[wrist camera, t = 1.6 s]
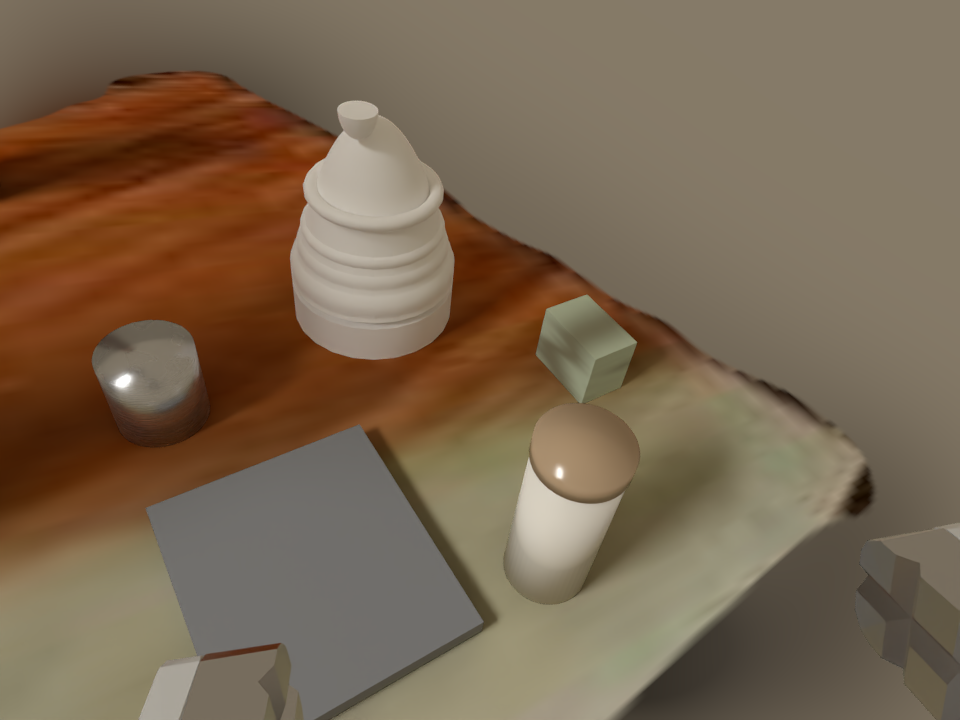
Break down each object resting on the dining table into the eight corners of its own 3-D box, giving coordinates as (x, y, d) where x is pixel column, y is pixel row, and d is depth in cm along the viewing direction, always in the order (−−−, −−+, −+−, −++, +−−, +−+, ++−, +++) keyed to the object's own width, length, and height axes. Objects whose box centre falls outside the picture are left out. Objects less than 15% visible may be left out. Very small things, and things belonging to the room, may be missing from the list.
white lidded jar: (485, 549, 44) (511, 425, 35) (553, 513, 46) (594, 389, 37) (534, 622, 41) (577, 507, 32) (605, 580, 43) (662, 462, 34)
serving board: (150, 518, 43) (145, 508, 42) (359, 435, 49) (359, 424, 48) (239, 771, 34) (235, 764, 33) (481, 631, 40) (483, 622, 39)
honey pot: (406, 382, 53) (415, 170, 40) (262, 324, 56) (228, 108, 43) (474, 287, 62) (499, 89, 49) (347, 241, 64) (339, 42, 52)
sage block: (535, 355, 57) (546, 309, 53) (574, 340, 58) (586, 294, 55) (580, 405, 53) (595, 359, 50) (620, 388, 55) (637, 342, 51)
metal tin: (108, 398, 49) (82, 336, 45) (195, 370, 52) (179, 310, 47) (129, 460, 46) (104, 400, 41) (221, 427, 48) (207, 367, 44)
